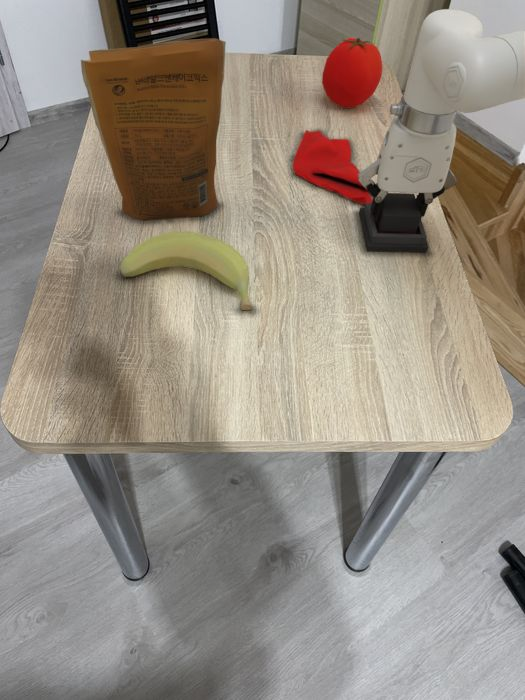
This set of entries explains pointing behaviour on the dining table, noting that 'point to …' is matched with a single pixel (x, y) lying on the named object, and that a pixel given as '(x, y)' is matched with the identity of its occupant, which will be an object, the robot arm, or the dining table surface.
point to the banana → (191, 259)
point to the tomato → (352, 72)
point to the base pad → (390, 236)
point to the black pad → (400, 213)
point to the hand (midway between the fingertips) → (395, 217)
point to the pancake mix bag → (160, 123)
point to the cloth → (329, 166)
